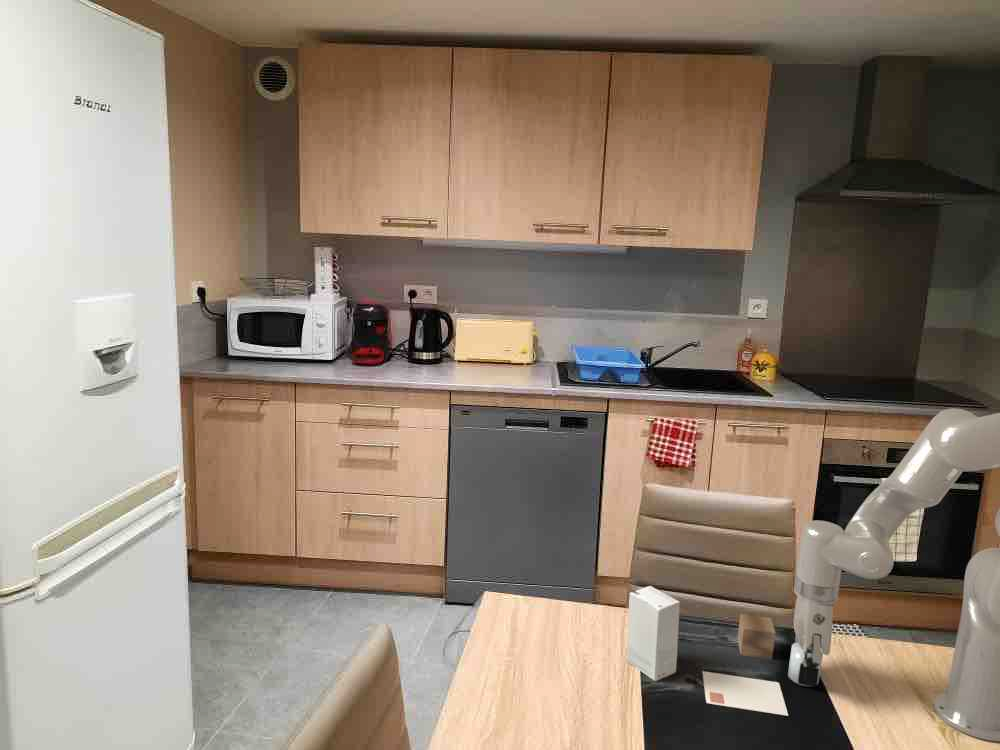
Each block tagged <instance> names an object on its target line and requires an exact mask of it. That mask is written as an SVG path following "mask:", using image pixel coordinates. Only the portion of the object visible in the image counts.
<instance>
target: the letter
mask: <svg viewBox="0 0 1000 750" xmlns="http://www.w3.org/2000/svg"><path fill="white" fill-rule="evenodd" d="M701 673H702V680H703V687H704V695H705V696H704V697H705V702H706V704H711V705H715V706H716V705H717V706H721V707H722V706H724V707H727V708H735V709H736V708H737V709H741V710H748V711H756V712H759V713H761V712H762V713H768V714H769V713H770V714H774V715H781V716H787V717H788V716H789V714H788V709H787V706H786V703H785V699H784V696H783V695H784V694H783V692H782V689H781V685H780V682H777V681H771V680H766V679H765V680H764V679H759V678H751V677H743V676H736V675H730V674H725V673H717V672H710V671H703V670H702V672H701Z"/></svg>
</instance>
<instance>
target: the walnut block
mask: <svg viewBox="0 0 1000 750" xmlns="http://www.w3.org/2000/svg"><path fill="white" fill-rule="evenodd" d="M739 614H740V615H739V616H740V617H739V622H738V623H739V624H738V632H737V645H738V649H739V653H740V656H747V657H753V658H759V659H765V660H767V659H768V660H773V654H774V647H775V641H776V640H775V639H776V630H775V626H774V625H773V620H772V618H771V617H766V616H760V615H759V616H757V615H751V614H745V613H739Z"/></svg>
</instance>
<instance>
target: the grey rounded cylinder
mask: <svg viewBox="0 0 1000 750" xmlns="http://www.w3.org/2000/svg"><path fill="white" fill-rule="evenodd" d="M790 649H791V650H790V657H789V664H788V672H787V676H788V678H789V679H790V680H791V681H792V682H793V683H796V684H798V685H799V686H804V687H810V686H809V685H802V684H799V683H798V677H799V670H800V663H803V650H802V649H801V647H800V645H799V642H797V643H795V642H794V643H792V644H791V648H790ZM807 649H812V647H811V646H809V647H807ZM809 657H810V658H811V657H812V654H811V653H807V659H808V658H809ZM823 657H824V654H823V652H822V650H821V663H820V665H819V672H818V678H817V685H819V681H820V675H821V671H822V668H821V667H822V663H823Z"/></svg>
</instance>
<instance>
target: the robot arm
mask: <svg viewBox="0 0 1000 750" xmlns="http://www.w3.org/2000/svg"><path fill="white" fill-rule="evenodd" d="M996 468H1000V412H998V413H993V414H988V415H983V416H977V415H976V414H974V413H973V412H970V411H968V410H965V409H961V408H955V407H954V408H948V409H947V408H946V409H943V410H941V411H939V412H938V413H937V414H935V416H934V417H933V418H932V419H931V420H930V421H929V422H928V424H927V425H926V427H925V428H924V430H923V431H922V432H921V434H920V435H919V436H918V438H917V439H915V442H914V443H913V445H912V446H911V447H910V448H909V450H908V452H907V453H906V454H905V455H904V457H903V458H902V459H901V461H900V462H899V464H898V465H897V466H896V468H895V469H894V470H893V472H892V473H891V474H890V475H889V476H888V477H886V479H884V480H883V481H882V482H881V484H879V485H878V486H877V487H876V488H875V489H874V490H873V491H872V492H871V493H870V494H869V495H868V496H867V497H866V498H865V499H864V501H863V502H862V504H861V505H860V506H859V508H858V509H857V511H856V512H855V513H854V515H853V516H852V518H851V519H850V521H848V523H847V525H846V527H845V529H843V528H842V527H841V526H840V525H838V524H836V523H833V522H830V521H828V520H827V521H825V520H820V519H819V520H810V521H807V522H806V523H804V525H803V527H802V529H801V534H800V535H801V537H800V543H799V549H798V557H797V563H796V564H797V565H796V573H795V580H794V586H793V592H794V594H795V595H796V601H795V602H796V603H795V607H794V615H793V629H794V632H795V633H794V634H795V637H794V643H797V642H799V645H800V647H801V649H802V650H803V663H800V670H799V677H798V683H799V684H798V685H800V684H802V685H801V686H803V685H809V686H808V687H816V686H817V685H818V684H817V678H818V672H819V665H820V663H821V651H822V652H823V655H825V656H828V655H829V654H830V652H831V643H832V633H833V623H834V622H833V619H834V604H835V603H836V602H837V600H838V595H839V589H840V582H841V577H842V571H843V572H847V573H850V574H852V575H854V576H857V577H861V578H864V579H869V580H877V579H882V578H884V577H887V576H888V575H889V574H890V573H891V571H892V569H893V567H894V555H893V551H892V548H891V546H890V545H891V544H890V542H889V541H890V540H891V538H892V537H893V535H894V534H895V533H896V531H897V530H898V529H899V528H900V526H901V525H902V524H903V522H905V521H906V519H907V518H908V517H909V516H910V515H912V514H913V513H915V512H917V511H918V510H921V509H925V508H931V507H934V506H936V505H938V504H939V503H941V501H942V500H943V498H944V497H945V496H946V494H947V493H948V492H949V490H950V489H951V487H952V486H953V485H954V484H955V482H956V481H957V480H958V479H959V477H960V476H961V475H962V473H963V472H973V471H974V472H975V471H977V472H978V471H983V470H990V469H996ZM994 527H995V530H996V533H997V535H998V537H1000V507H999V508H998V510H997V513H996V514H995V520H994ZM964 573H965V574H964V579H963V580H964V581H963V593H962V594H963V597H962V607H961V613H960V618H959V624H958V629H957V635H956V640H955V643H954V644H955V645H954V651H953V654H952V655H953V656H952V659H951V660H952V662H951V667H950V672H949V679H948V683H947V688H946V691H945V692H941V693H939V694H937V695H936V696H935V698H934V702H933V706H934V710H935V712H936V714H937V715H938V716H939V717H940V718H941V720H943V721H944V722H945V723H946V724H948V725H949V726H951V727H953V728H954V729H956V730H957V731H959V732H961V733H964V734H966V735H968V736H971V737H974V738H977V739H980V740H985V741H990V742H1000V547H988V548H985V549H982V550H980V551H978V552H976V553H975V554H974V555H973V556H972V557H971V559H969V561H968V563H967V565H966V567H965V572H964ZM809 646H811V647H812V649H807V647H809ZM807 653H811V654H812V657H811V658H810V657H809V658H808V659H807ZM821 664H822V663H821Z"/></svg>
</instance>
